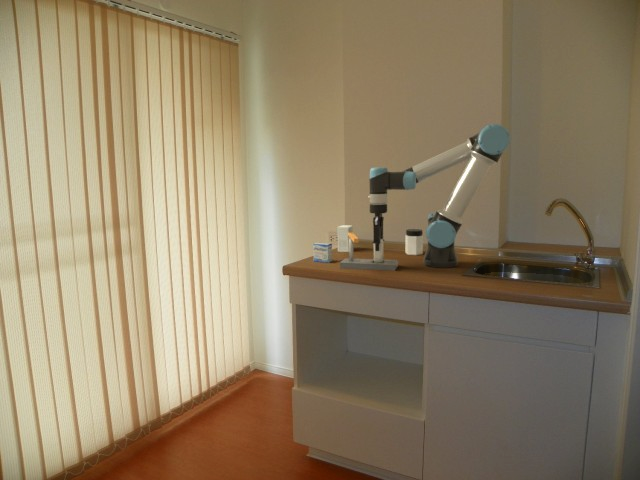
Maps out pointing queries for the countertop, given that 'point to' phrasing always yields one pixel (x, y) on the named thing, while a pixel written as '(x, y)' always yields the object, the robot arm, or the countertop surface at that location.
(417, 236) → the jar
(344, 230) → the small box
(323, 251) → the medicine box
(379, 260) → the plug
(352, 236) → the bar
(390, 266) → the grey post stand
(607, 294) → the countertop surface
